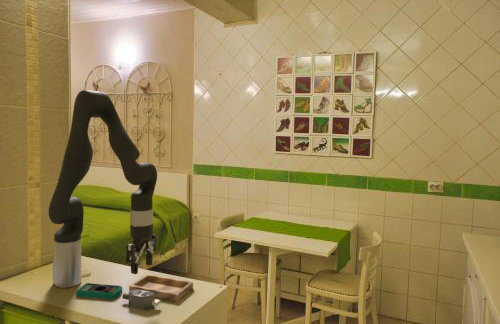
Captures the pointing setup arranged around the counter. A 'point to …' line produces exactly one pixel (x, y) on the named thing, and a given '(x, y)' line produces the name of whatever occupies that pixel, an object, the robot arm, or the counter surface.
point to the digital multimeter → (99, 291)
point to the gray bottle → (141, 299)
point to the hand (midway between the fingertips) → (142, 269)
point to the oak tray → (163, 287)
